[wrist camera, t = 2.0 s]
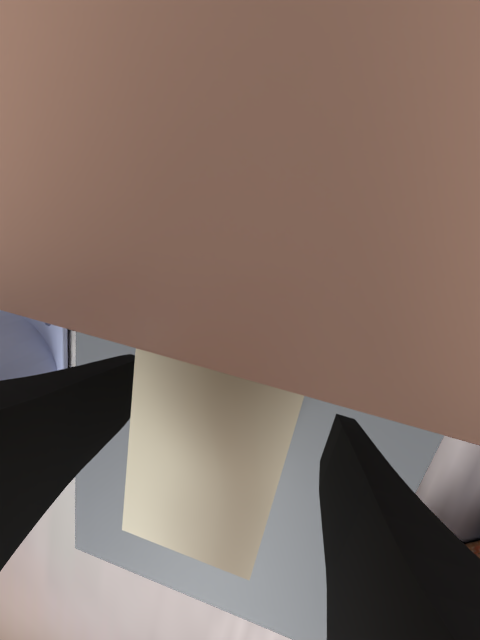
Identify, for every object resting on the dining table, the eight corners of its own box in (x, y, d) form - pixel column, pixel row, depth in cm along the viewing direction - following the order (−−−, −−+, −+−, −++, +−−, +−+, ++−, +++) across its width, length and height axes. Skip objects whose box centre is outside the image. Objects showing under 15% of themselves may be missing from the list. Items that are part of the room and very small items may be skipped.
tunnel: (163, 257, 11) (-75, 288, 4) (181, 76, 9) (-190, -410, 2) (371, 303, 10) (526, 458, 3) (439, 105, 8) (1294, -748, 1)
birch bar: (186, 427, 13) (121, 529, 9) (236, 101, 9) (165, -42, 5) (270, 453, 13) (249, 580, 8) (363, 116, 9) (431, -30, 4)
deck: (106, 505, 21) (75, 548, 18) (140, -154, 10) (78, -302, 8) (329, 591, 18) (333, 656, 15) (661, -166, 8) (861, -393, 5)
